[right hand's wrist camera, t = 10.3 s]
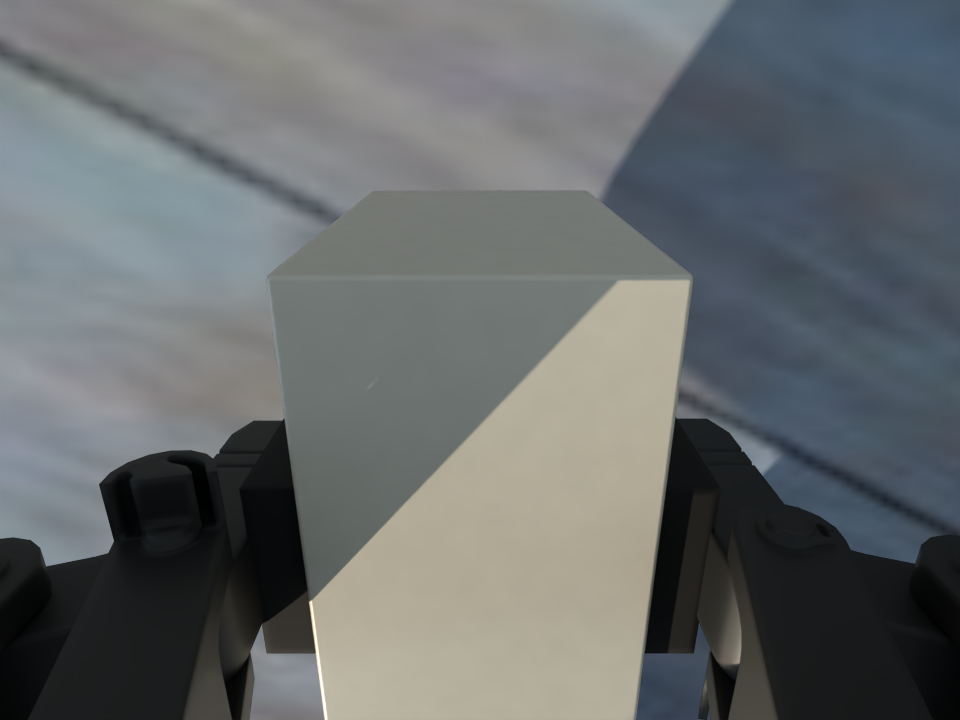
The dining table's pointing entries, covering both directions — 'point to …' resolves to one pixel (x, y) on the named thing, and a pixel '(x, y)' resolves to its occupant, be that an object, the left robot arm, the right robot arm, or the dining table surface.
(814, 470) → the dining table surface
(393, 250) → the plank
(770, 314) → the dining table surface
